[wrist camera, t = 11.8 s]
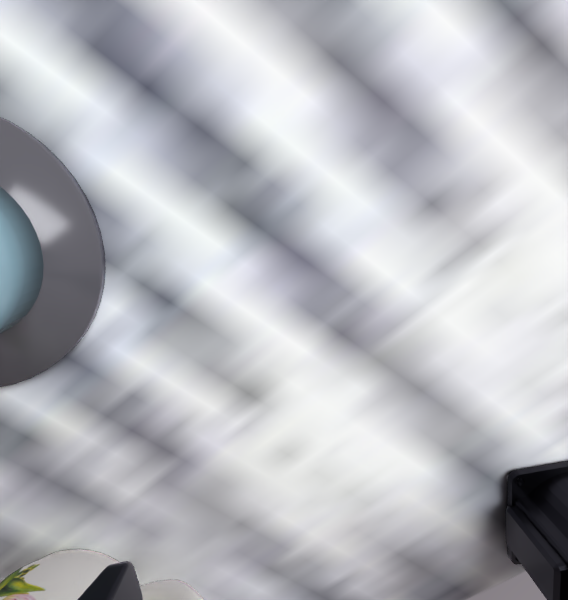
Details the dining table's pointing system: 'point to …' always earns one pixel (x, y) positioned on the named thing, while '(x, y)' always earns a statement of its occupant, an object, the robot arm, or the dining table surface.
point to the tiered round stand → (43, 257)
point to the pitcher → (78, 579)
